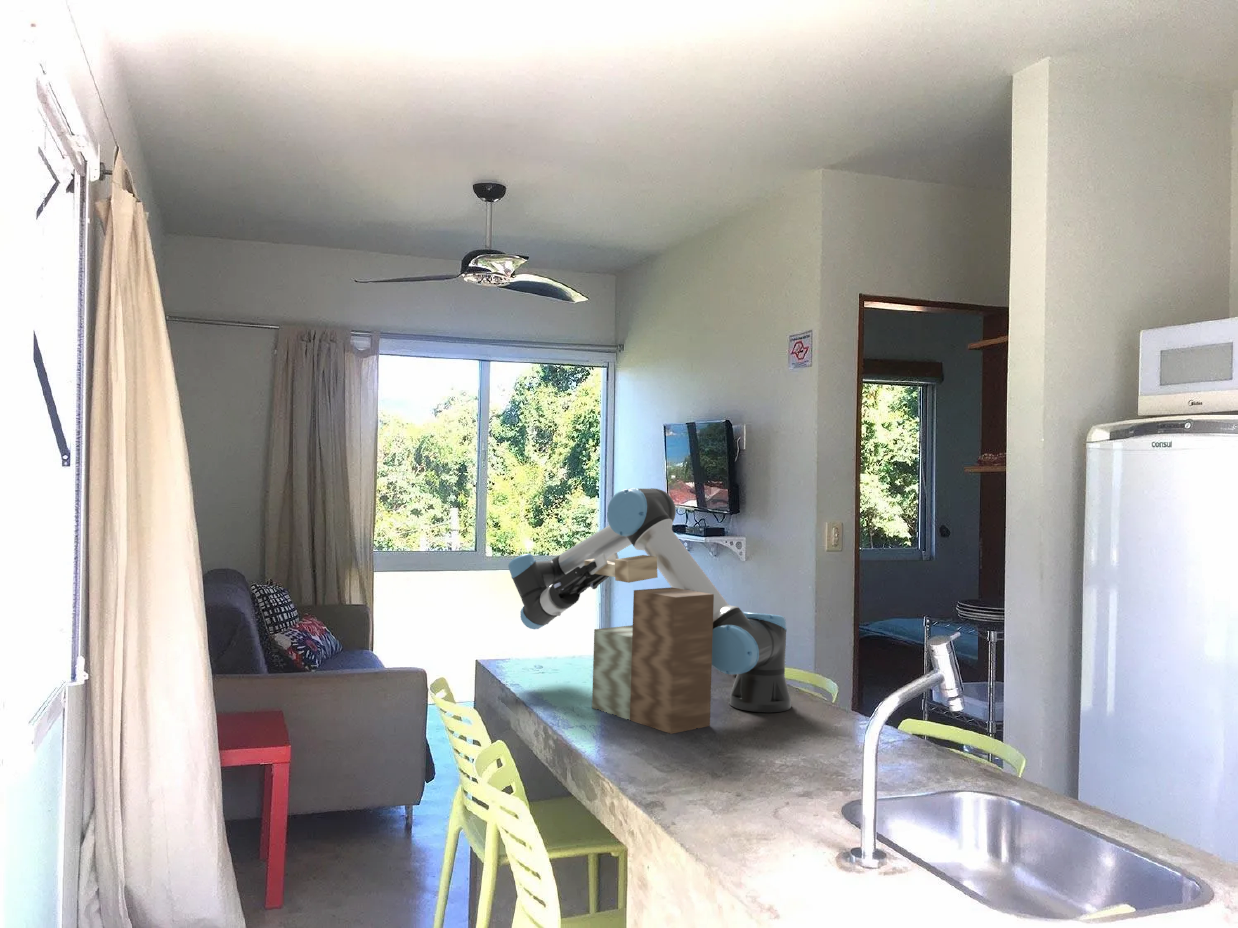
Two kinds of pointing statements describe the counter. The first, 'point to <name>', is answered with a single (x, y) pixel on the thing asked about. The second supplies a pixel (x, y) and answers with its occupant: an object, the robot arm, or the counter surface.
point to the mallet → (630, 568)
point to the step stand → (658, 661)
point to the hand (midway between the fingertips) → (611, 558)
